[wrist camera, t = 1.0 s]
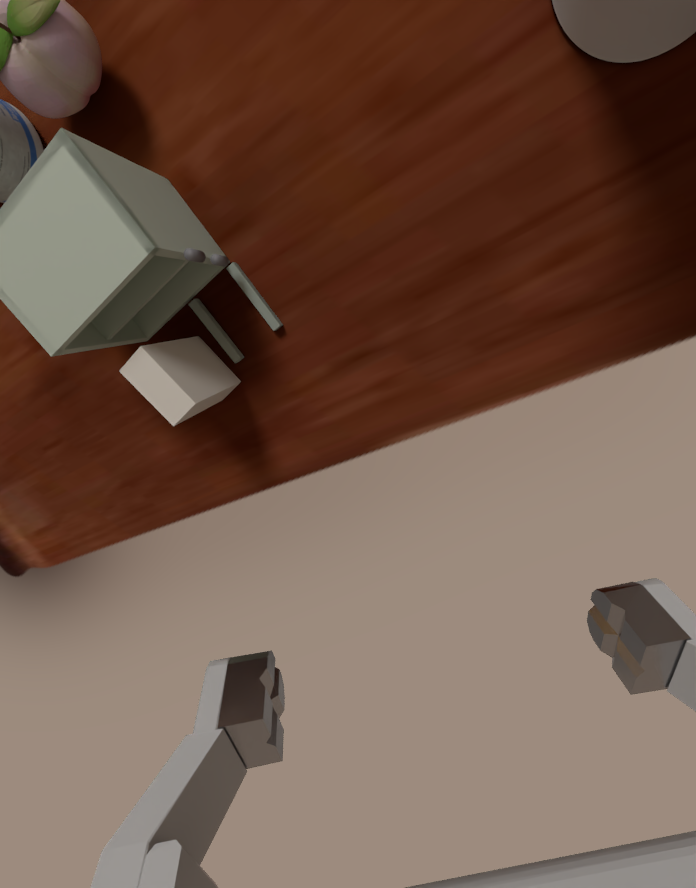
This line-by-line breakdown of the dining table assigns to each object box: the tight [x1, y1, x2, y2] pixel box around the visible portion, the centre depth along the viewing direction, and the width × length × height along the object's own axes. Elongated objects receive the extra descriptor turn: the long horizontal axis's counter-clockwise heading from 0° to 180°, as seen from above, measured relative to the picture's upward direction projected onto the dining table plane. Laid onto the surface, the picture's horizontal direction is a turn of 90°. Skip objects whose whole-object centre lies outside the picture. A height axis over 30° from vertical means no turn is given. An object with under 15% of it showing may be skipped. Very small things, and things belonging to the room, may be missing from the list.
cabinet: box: [0, 128, 283, 363], centre depth 40 cm, size 18×15×14 cm
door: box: [119, 336, 241, 426], centre depth 44 cm, size 7×4×11 cm, turn 42°
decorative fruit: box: [0, 0, 102, 118], centre depth 37 cm, size 9×8×10 cm
